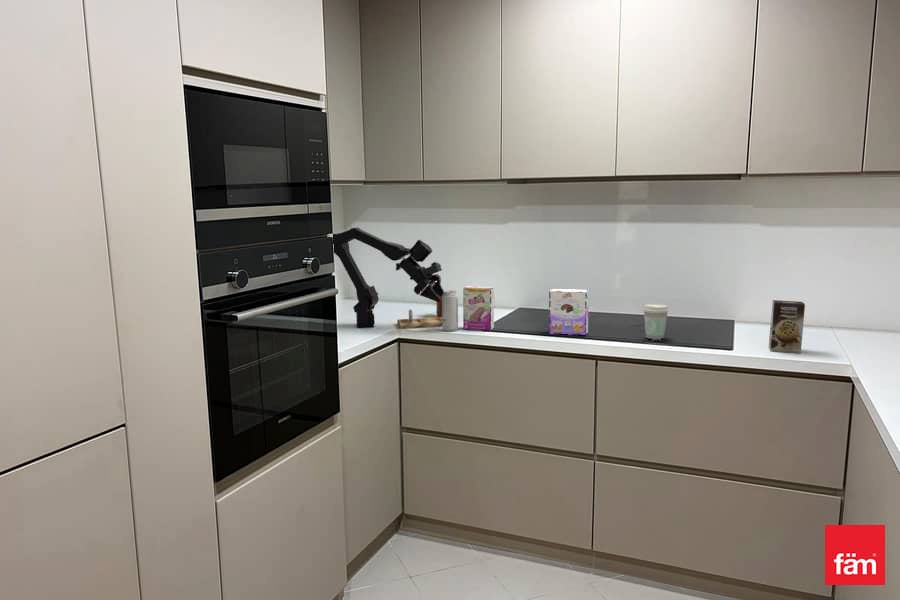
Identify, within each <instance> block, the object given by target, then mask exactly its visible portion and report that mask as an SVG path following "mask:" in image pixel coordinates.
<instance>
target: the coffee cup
mask: <svg viewBox="0 0 900 600" xmlns="http://www.w3.org/2000/svg"><path fill="white" fill-rule="evenodd" d="M642 311H643V317H644V330H645V331H644V332H645V338H646V337H647V338H653V339H661V338H663V339H664V336H665V330H666V324H667V319H668V313H669V308H668V305H666V304H661V303H647V304H645V305H644V308H643V310H642Z"/></svg>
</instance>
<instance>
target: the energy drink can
mask: <svg viewBox="0 0 900 600" xmlns="http://www.w3.org/2000/svg"><path fill="white" fill-rule="evenodd" d="M441 328H442V329H443V331H444V332H449V333H450V332H457V330H458V328H459V296H458V293H457V291H456V290H444V293H443V295H442V327H441Z"/></svg>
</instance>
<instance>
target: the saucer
mask: <svg viewBox="0 0 900 600" xmlns="http://www.w3.org/2000/svg"><path fill="white" fill-rule="evenodd" d="M408 319H409V323H412V321H413V319H414V317H413V310H412V309H411V308H410V309H408Z"/></svg>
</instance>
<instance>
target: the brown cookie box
mask: <svg viewBox="0 0 900 600" xmlns="http://www.w3.org/2000/svg"><path fill="white" fill-rule="evenodd" d="M805 308H806V304H805V302H803V301H796V300H795V301H793V300H780V299H779V300H778V299H777V300H776V299H772V304H771V316H770V325H769V327H770V328H769V339H768V349H769V351H770V352H778V353H779V352H780V353H791V354H801V353H802V343H803V342H802V341H803V331H804V322H805V321H804V320H805V312H806V311H805Z"/></svg>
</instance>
